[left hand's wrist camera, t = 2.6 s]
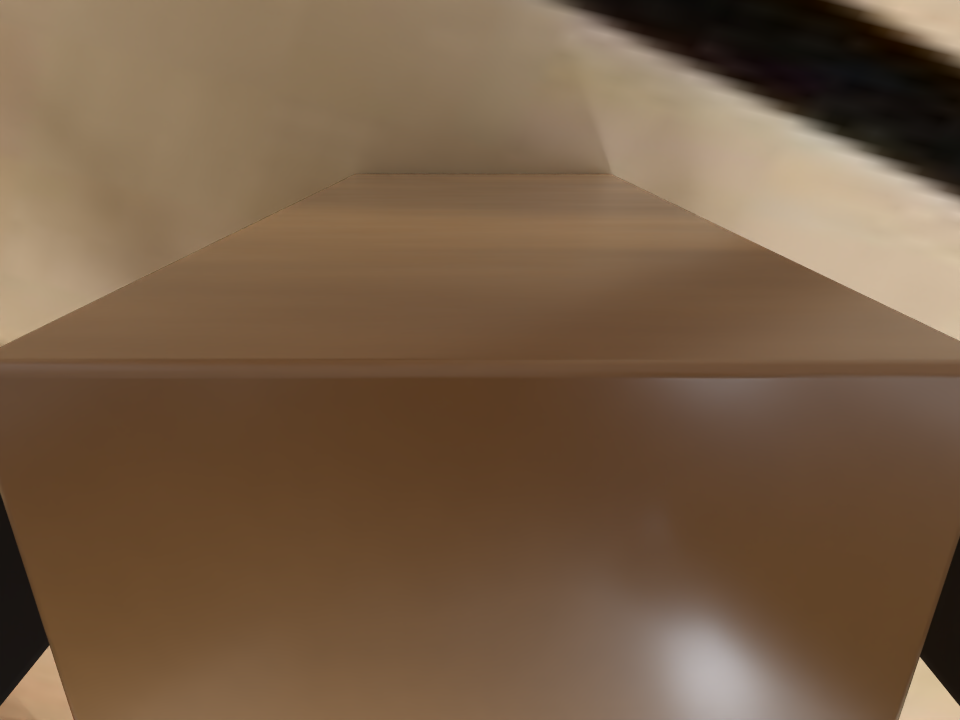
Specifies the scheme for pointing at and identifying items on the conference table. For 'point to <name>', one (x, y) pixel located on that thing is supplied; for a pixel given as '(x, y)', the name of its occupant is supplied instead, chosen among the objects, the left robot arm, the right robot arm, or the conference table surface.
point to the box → (483, 469)
